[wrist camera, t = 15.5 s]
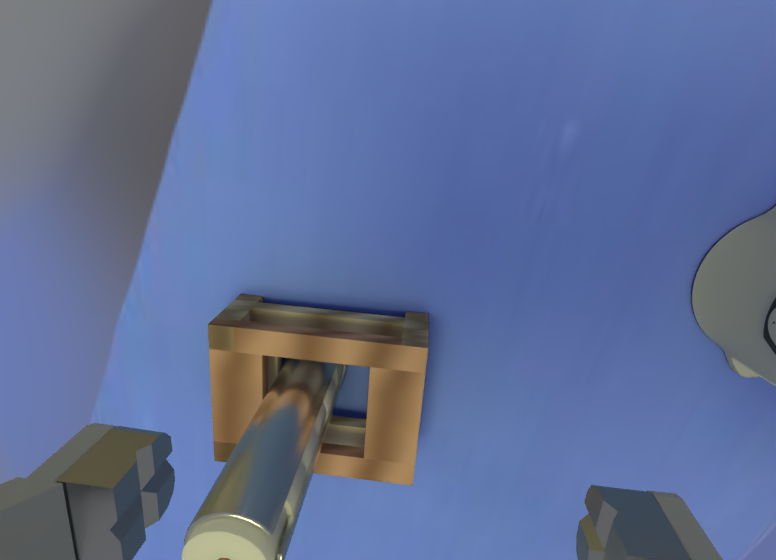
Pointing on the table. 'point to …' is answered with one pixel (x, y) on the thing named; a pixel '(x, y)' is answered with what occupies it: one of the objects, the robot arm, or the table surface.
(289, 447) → the silver metal cylinder
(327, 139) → the table surface
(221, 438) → the frame
